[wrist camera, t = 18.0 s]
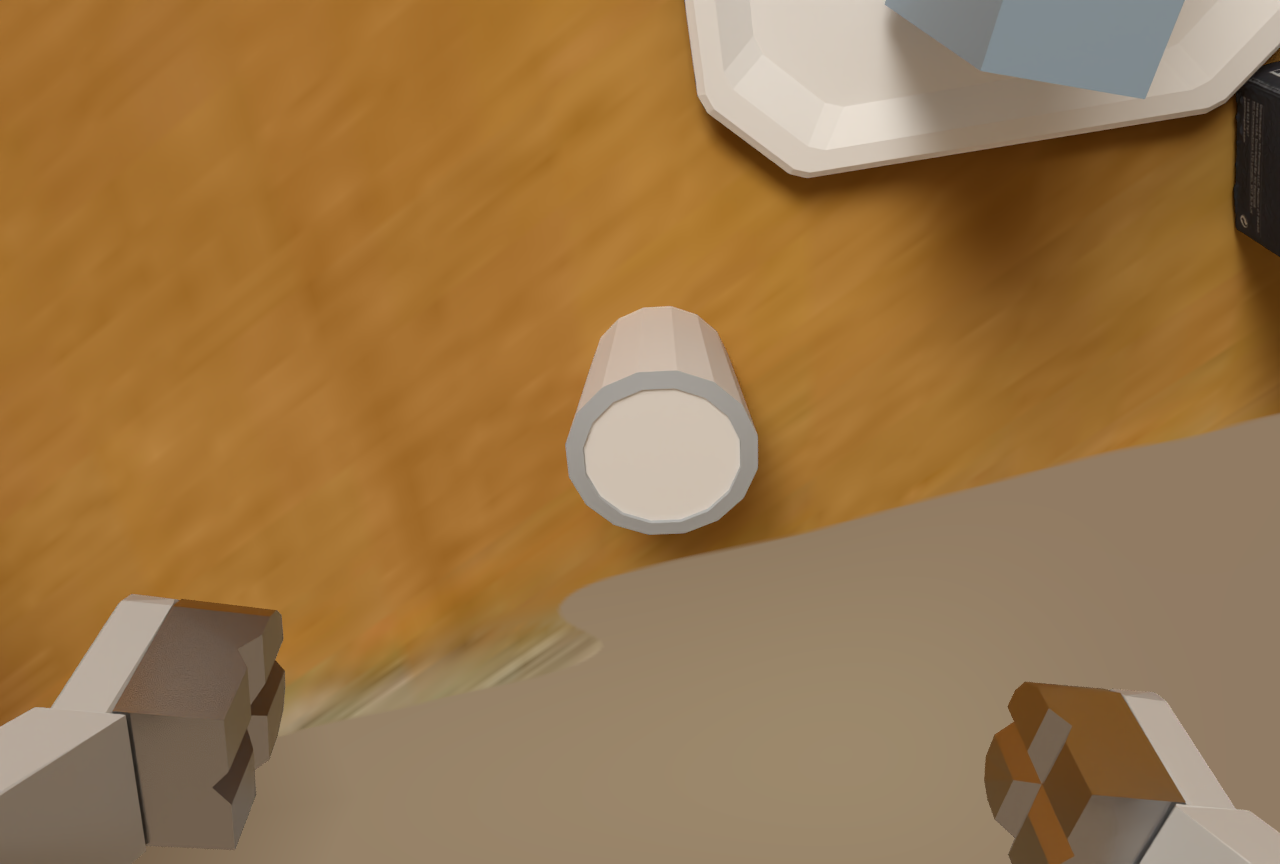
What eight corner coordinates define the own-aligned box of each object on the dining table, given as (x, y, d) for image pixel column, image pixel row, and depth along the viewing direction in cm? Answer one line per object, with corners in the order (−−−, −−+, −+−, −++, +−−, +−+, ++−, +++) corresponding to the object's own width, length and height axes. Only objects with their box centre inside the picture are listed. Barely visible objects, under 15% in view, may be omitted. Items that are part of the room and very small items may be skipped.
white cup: (586, 280, 40) (575, 359, 34) (758, 302, 40) (778, 384, 34) (569, 430, 43) (556, 526, 37) (728, 449, 43) (740, 547, 37)
